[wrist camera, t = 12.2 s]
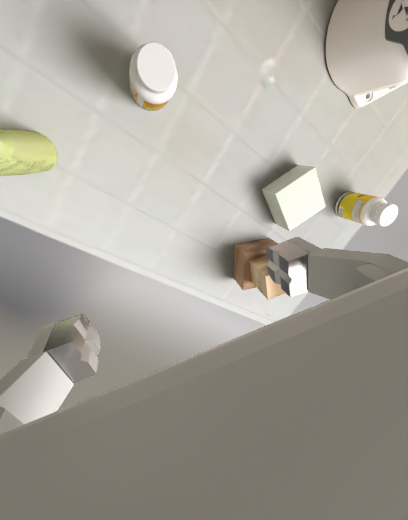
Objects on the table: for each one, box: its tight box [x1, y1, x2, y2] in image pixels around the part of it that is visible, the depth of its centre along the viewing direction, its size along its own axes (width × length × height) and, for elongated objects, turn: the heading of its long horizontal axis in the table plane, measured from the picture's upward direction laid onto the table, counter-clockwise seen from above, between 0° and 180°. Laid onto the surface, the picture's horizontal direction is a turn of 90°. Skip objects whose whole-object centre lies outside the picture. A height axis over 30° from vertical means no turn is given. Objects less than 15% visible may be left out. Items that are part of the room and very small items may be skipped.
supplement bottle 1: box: [129, 42, 178, 111], centre depth 28 cm, size 5×5×10 cm
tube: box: [0, 129, 58, 176], centre depth 23 cm, size 6×5×20 cm
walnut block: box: [234, 238, 278, 290], centre depth 47 cm, size 8×8×5 cm
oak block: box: [249, 255, 285, 300], centre depth 42 cm, size 5×5×6 cm
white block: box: [261, 165, 326, 231], centre depth 43 cm, size 8×8×5 cm
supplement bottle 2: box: [335, 192, 398, 226], centre depth 45 cm, size 5×5×10 cm
